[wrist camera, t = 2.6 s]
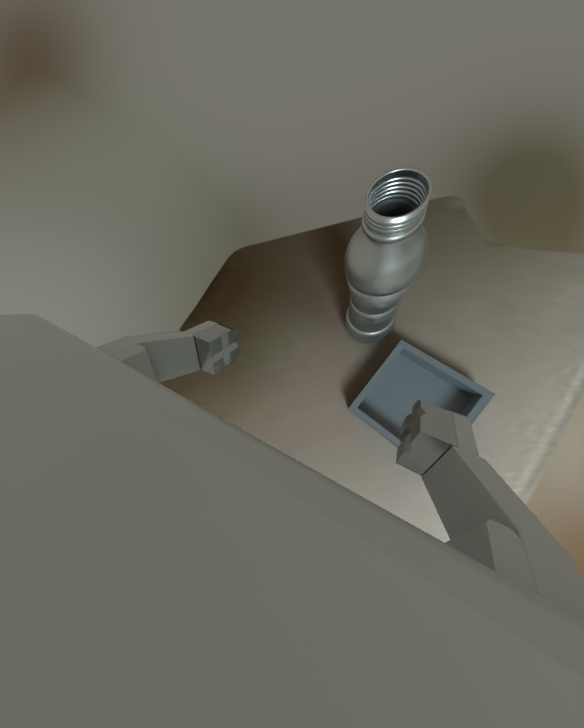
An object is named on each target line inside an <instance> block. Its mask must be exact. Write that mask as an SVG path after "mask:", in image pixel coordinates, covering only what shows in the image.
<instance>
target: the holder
mask: <svg viewBox="0 0 584 728" xmlns="http://www.w3.org/2000/svg"><path fill="white" fill-rule="evenodd" d="M494 395H495V394H494V393H493V392H491V391H489V390H487V389H486V388H484V387H482V386H481V385H479V384H477V383H475V382H474V381H472V380H470V379H468V378H467V377H465V376H463V375H462V374H460V373H458V372H456V371H455V370H453V369H451V368H450V367H448V366H446V365H444V364H443V363H441V362H439V361H438V360H436V359H434V358H432V357H431V356H429V355H427V354H425V353H424V352H422V351H420V350H419V349H417V348H415V347H413V346H412V345H410V344H408V343H407V342H405V341H403V340H401V341H400V342H399V343H398V345H397V346H396V347H395V349H394V350H393V351H392V352H391V354H390V355H389V356H388V358H387V359H386V360H385V362H384V363H383V364H382V365H381V367H380V368H379V369H378V371H377V372H376V373H375V375H374V376H373V377H372V378H371V380H370V381H369V382H368V384H367V385H366V386H365V388H364V389H363V390H362V391H361V393H360V394H359V395H358V397H357V398H356V399H355V400H354V402H353V403H352V404H351V406H350V407H349V408H348V409H349V410H350V411H351V412H353V413H354V414H355V415H356V416H358V417H359V418H360V419H362V420H363V421H364V422H366V423H367V424H368V425H369V426H371V427H372V428H373V429H375V430H376V431H377V432H378V433H380V434H381V435H382V436H384V437H385V438H386V439H388V440H389V441H390V442H391V443H393V444H394V445H395V446H397V447H398V446H399V445H400V444H401V441H400V439H399V433H400V429H401V426H402V424H403V421H404V420H405V418H406V416H407V415H409V414H412V408H413V406H414V404H415V403H416V402H417V401H418V400H421V401H424V402H426V403H429V404H432V405H434V406H437V407H440V408H443V409H445V410H448V411H452V412H455V413H458V414H461V415H464V416H466V417H468V418H469V419H470V422H471V425H472V424H473V422H474V421H475V420H476V418H477V417H478V416H479V414H480V413H481V412H482V411H483V409H484V408H485V407H486V405H487V404H488V403H489V401H490V400H491V399H492V397H493V396H494Z"/></svg>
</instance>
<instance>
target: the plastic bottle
mask: <svg viewBox="0 0 584 728" xmlns="http://www.w3.org/2000/svg"><path fill="white" fill-rule="evenodd" d="M431 191H432V183H431V180H430V178H429V177H428V175H427V174H426V173H424V172H423V171H421V170H419V169H416V168H410V167H409V168H408V167H405V168H397V169H394V170H391V171H388V172H386V173H384V174H382V175H381V176H379V177H378V178H377V179H376V180H375V181H374V182H373V183H372V184H371V185H370V187H369V189H368V191H367V194H366V197H365V207H364V212H363V216H362V226H361V227H360V228H359V229H358V230H357V231H356V233H355V234H354V235H353V236H352V238H351V240H350V242H349V244H348V247H347V250H346V253H345V257H344V267H345V275H346V279H347V283H348V287H349V293H350V302H349V306H348V309H347V312H346V315H345V326H346V329H347V331H348V333H349V335H350V336H351V337H352V338H353V339H354V340H356V341H358V342H361V343H374V342H377V341H379V340H381V339H382V338H384V337H385V336H386V335H387V334H388V333H389V332H390V331H391V330H392V328H393V326H394V323H395V319H396V309H397V306H398V303H399V301H400V300H401V298H402V296H403V294H404V293H405V292H406V290H407V289H408V288H409V287H410V285H411V284H412V283H413V282H414V280H415V279H416V278H417V277H418V275H419V273H420V272H421V270H422V268H423V267H424V265H425V263H426V259H427V256H428V237H427V233H426V231H425V229H424V227H423V226H422V223H423V220H424V217H425V214H426V207H427V205H428V202H429V199H430V196H431Z"/></svg>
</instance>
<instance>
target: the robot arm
mask: <svg viewBox="0 0 584 728" xmlns="http://www.w3.org/2000/svg"><path fill="white" fill-rule="evenodd" d="M237 339H238V334H237V332H236V331H235V330H233V329H231V328H228V327H226V326H223V325H221V324H218V323H216V322H213V321H206V322H204V323H202V324H200V325H197V326H195V327H193V328H191V329H188V330H186V331H184V332H182V331H175V332H165V333H155V334H145V335H135V336H126V337H122V338H120V339H117V340H114V341H112V342H109V343H106V344H104V345H101V346H98V347H96V348H95V347H94V346H92V345H90V344H88V343H86V342H85V341H83V340H81V339H79V338H78V337H76V336H74V335H72V334H70V333H69V332H67V331H65V330H63V329H62V328H60V327H58V326H56V325H54V324H53V323H51V322H49V321H47V320H46V319H43V318H42V317H39V316H37V315H32V314H13V315H0V728H584V583H583V580H582V578H581V576H580V574H579V571H578V569H577V567H576V565H575V562H574V560H573V558H572V557H571V556H570V555H569V554H568V553H567V551H566V550H565V549H564V548H563V547H562V546H561V545H560V543H559V542H558V541H557V540H556V539H555V538H554V537H553V536H552V534H551V533H550V532H549V531H548V530H547V529H546V528H545V527H544V525H543V524H542V523H541V522H540V521H539V520H538V519H537V517H536V516H535V515H534V514H533V513H532V512H531V511H530V510H529V508H528V507H527V506H526V505H525V504H524V503H523V502H522V501H521V499H520V498H519V497H518V496H517V495H516V494H515V493H514V492H513V490H512V489H511V488H510V487H509V486H508V485H507V484H506V482H505V481H504V480H503V479H502V478H501V477H500V476H499V475H498V473H497V472H496V471H495V470H494V469H493V468H492V467H491V466H490V464H489V463H488V462H487V461H486V460H485V459H483V458H481V457H479V454H478V450H477V446H476V442H475V438H474V434H473V430H472V426H471V422H470V419H469V418H468V417H466V416H464V415H461V414H458V413H455V412H452V411H448V410H445V409H443V408H440V407H437V406H434V405H432V404H429V403H426V402H424V401H421V400H418V401H417V402H416V403H415V404H414V406H413V408H412V414H409V415H407V416H406V418H405V420H404V421H403V424H402V426H401V429H400V433H399V439H400V441H401V444H400V445H399V446H398V449H397V459H396V463H397V464H399V465H401V466H403V467H405V468H407V469H409V470H411V471H413V472H415V473H417V474H419V475H421V476H422V479H423V482H424V484H425V486H426V488H427V490H428V492H429V495H430V497H431V499H432V501H433V503H434V505H435V507H436V510H437V512H438V514H439V516H440V518H441V520H442V522H443V525H444V527H445V529H446V531H447V533H448V535H449V538H450V540H449V541H448V542H446V543H444V542H442V541H440V540H438V539H437V538H435V537H433V536H431V535H430V534H428V533H426V532H424V531H422V530H421V529H419V528H417V527H415V526H413V525H412V524H410V523H408V522H406V521H405V520H403V519H401V518H399V517H397V516H396V515H394V514H392V513H390V512H388V511H387V510H385V509H383V508H381V507H379V506H378V505H376V504H374V503H372V502H371V501H369V500H367V499H365V498H363V497H362V496H360V495H358V494H356V493H354V492H353V491H351V490H349V489H347V488H346V487H344V486H342V485H340V484H338V483H337V482H335V481H333V480H331V479H329V478H328V477H326V476H324V475H322V474H321V473H319V472H317V471H315V470H313V469H312V468H310V467H308V466H306V465H304V464H303V463H301V462H299V461H297V460H296V459H294V458H292V457H290V456H288V455H287V454H285V453H283V452H281V451H279V450H278V449H276V448H274V447H272V446H270V445H269V444H267V443H265V442H263V441H262V440H260V439H258V438H256V437H254V436H253V435H251V434H249V433H247V432H245V431H244V430H242V429H240V428H238V427H236V426H235V425H233V424H231V423H229V422H227V421H226V420H224V419H222V418H220V417H219V416H217V415H215V414H213V413H211V412H210V411H208V410H206V409H204V408H203V407H201V406H199V405H197V404H195V403H194V402H192V401H190V400H188V399H187V398H185V397H183V396H181V395H179V394H178V393H176V392H174V391H172V390H171V389H169V388H167V387H165V386H163V385H162V384H160V382H163V381H166V380H170V379H173V378H176V377H179V376H183V375H186V374H189V373H192V372H196V371H199V370H200V369H201V370H204V371H206V372H208V373H210V374H213V375H215V374H217V373H218V372H219V371H221V370H222V369H224V367H225V365H226V364H230V363H232V362H233V361H234V360H235V359H236V357H237V356H238V352H239V347H238V345H237V343H236V341H237Z"/></svg>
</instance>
